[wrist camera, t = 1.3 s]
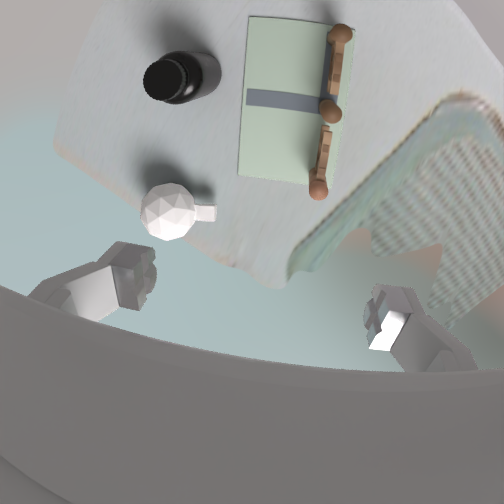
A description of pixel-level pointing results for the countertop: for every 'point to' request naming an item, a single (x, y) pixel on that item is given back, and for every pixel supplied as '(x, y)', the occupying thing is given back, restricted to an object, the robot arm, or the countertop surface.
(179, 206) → the perfume bottle
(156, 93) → the supplement bottle
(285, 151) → the mat
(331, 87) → the fence fixed
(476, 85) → the countertop surface
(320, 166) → the fence gate
